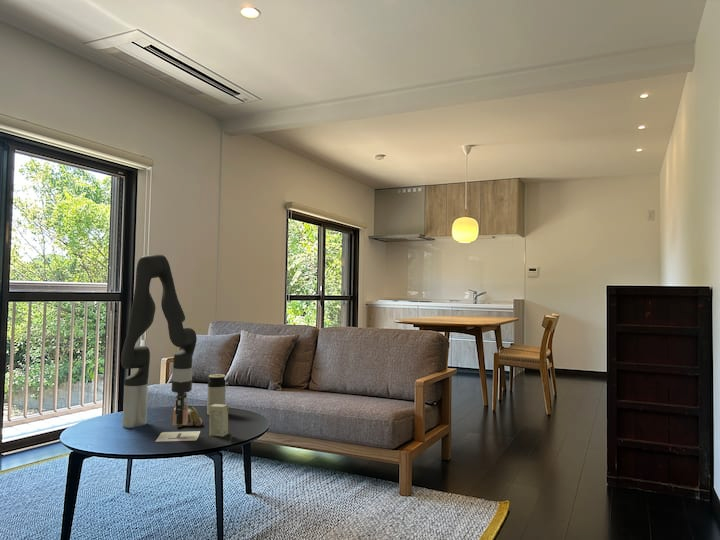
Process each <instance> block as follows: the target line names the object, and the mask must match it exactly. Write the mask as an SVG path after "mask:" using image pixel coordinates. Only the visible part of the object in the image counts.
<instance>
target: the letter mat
mask: <svg viewBox="0 0 720 540" xmlns="http://www.w3.org/2000/svg"><path fill="white" fill-rule="evenodd" d="M200 433H201V431H200V430H197V431H193V430H192V431H162V432H161V433H160V434H159V436H158V437H157V438H156V440H155V441H154V442H156V443H157V442H158V443H159V442H183V441H186V442H187V441H189V442H190V441H191V442H192V441H197V440H198V438H199V436H200Z"/></svg>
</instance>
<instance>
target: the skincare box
mask: <svg viewBox="0 0 720 540" xmlns="http://www.w3.org/2000/svg"><path fill="white" fill-rule="evenodd" d="M208 422H209V429H208V430H209V432H208V433H209V434H208V435H209V436H212V437H225V436H227V435H228V434H229V404H225V405H224V404H214V405H211V406H210V415H209V421H208Z"/></svg>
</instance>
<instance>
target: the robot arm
mask: <svg viewBox="0 0 720 540" xmlns="http://www.w3.org/2000/svg"><path fill="white" fill-rule="evenodd" d="M170 266H171V265H170V262H169V261H168V259H167V257H166V256H165V255H164V254H151V255H143V256H141V257H140V258H139V259H138V261H137V264H136V272H135V283H134V284H135V286H134V292H133V300H132V305H131V307H130V314H129V320H128V326H127V332H126V337H125V340H124V342H123V347H122V351H121V356H120V364H121V367H122V368H123V369H127V370H128V369H129V370H131V369H137V370H136V372H134V373H132V374H130V375H129V376H126V377H125V378H124V380H123V383H124V384H123V403H122V405H123V408H122V409H123V410H122V427H124V428H129V429H134V428H135V427H141V426H144V425H147V414H148V413H147V412H148V409H147V408H148V388H149V387H148V386H149V385H148V382H149V373H150V364H151V363H150V361H151V351H150V348H149V347H148V346H146V345H137V346H136V344H137V342H138V341H139V339H140V338H141V336H143V334H145V333H146V332H147V330H148V329H149V328H150V327H151V325H153V322H154V318H155V315H156V309H157V308H156V307H157V306H156V303H155V301H154V298H153V297H152V295H151V292H150V285H151V282H152V279H156V278H158V279H159V281H160V282H161V287H162V295H161V300H160V301H161V305H160V306H161V311H162V313H163V315H164V317H165V319H166V322H167V329H168V335H169V340H170V342H171V343H172V345H173V346H175V347H176V348H179V350H178V351H177V352H175V354H174V355H173V362H172V363H173V364H172V373H171V374H172V375H171V392H172V393H176V396H175V399H174V400H175V406H174V408H176V412H175V414H176V415H177V420H176V424H177V425H181V424H182V423H183V409H184V408H185V406H187V399H188V394H187V393H190V392H192V388H193V385H192V384H193V356H194V352H195V349H196V345H197V341H198V340H197V338H198V337H197V333H196V331H195V330H194V329H193V328H192V327H184V324H183V323H184V322H185V320H186V316H185V315H186V314H185V312H184V311H183V308H182V305H181V304H180V301H179V299H178V294H177V291H176V286H175V282H174V278H173V274H172V269H171V267H170ZM178 409H181V411H178Z"/></svg>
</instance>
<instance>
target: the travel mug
mask: <svg viewBox="0 0 720 540" xmlns="http://www.w3.org/2000/svg"><path fill="white" fill-rule="evenodd" d="M225 377H226V375H225V374H223V373H222V374H220V373H218V374H217V373H214V374H209V375H208V378H209V380H208V381H207V402H206V404H207V405H206V406H207V407H206V414H207V415H208V416H210V406H211V405H214V404H224V405H226V382H227V381H226V380H225Z"/></svg>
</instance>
